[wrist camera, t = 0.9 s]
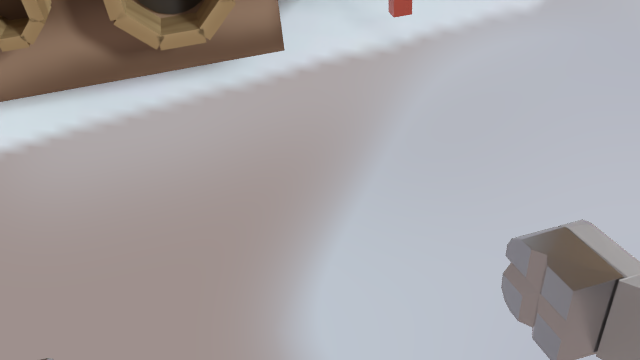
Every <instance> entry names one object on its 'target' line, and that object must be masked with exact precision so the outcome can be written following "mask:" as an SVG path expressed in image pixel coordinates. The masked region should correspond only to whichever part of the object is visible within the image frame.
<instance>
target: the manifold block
mask: <svg viewBox="0 0 640 360" xmlns="http://www.w3.org/2000/svg"><path fill="white" fill-rule="evenodd" d="M283 50H284V43H283V36H282V28H281V21H280V13H279V6H278V0H0V102H2V101H8V100H13V99H19V98H24V97H30V96H35V95H41V94H46V93H52V92H57V91H63V90H68V89H74V88H79V87H85V86H90V85H96V84H101V83H107V82H113V81H118V80H124V79H129V78H135V77H140V76H146V75H151V74H157V73H162V72H168V71H173V70H179V69H184V68H190V67H195V66H201V65H206V64H212V63H217V62H223V61H228V60H234V59H239V58H245V57H250V56H256V55H261V54H267V53H272V52H278V51H283Z"/></svg>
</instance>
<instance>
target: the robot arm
mask: <svg viewBox="0 0 640 360" xmlns="http://www.w3.org/2000/svg"><path fill="white" fill-rule="evenodd" d="M506 257H507V258H508V259H509V260H510V261H511V264H510V265H509V266H508V268H507V269H506V270H505V271H504V273H503V277H502V291H503V295H504V299H505V302H506V304H507V306H508V308H509V310H510V311H511V313H512V314H513V315H514V316H515V318H516V319H517V320H518V321H520V322H522V323H524V324H526V325H528V326H531V327H532V331H533V332H532V338H533V340H534V341H535V342H536V343H537V344H538V346H539V347H540V348H541V349H542V350H543V352H544V353H545V354H546V355H547V356H548V358H550V360H576V359H579V358H583V357H586V356H589V355H593V354H596V356H597V357H598V358H600V359H602V360H640V262H639V261H638V260H637V259H636V258H634V257H633V256H632V255H631V254H629V253H628V252H627V251H626V250H624V249H623V248H622V247H621V246H619V245H618V244H617V243H616V242H614V241H613V240H612V239H611V238H609V237H608V236H607V235H606V234H604V233H603V232H602V231H601V230H599V229H598V228H597V227H596V226H594V225H593V224H592V223H590V222H588V221H585V220H579V221H575V222H571V223H568V224H564V225H560V226H558V227H553V228H550V229H546V230H542V231H538V232H535V233H531V234H527V235H523V236H520V237H516V238H512V239H511V241H510V242H509V243H508V245H507V250H506ZM42 360H53V359H50V358H46V359H42Z"/></svg>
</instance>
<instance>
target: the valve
mask: <svg viewBox="0 0 640 360" xmlns="http://www.w3.org/2000/svg"><path fill="white" fill-rule="evenodd" d="M389 12H390V14H391V15H392V16H393V17H399V16H404V15H410V14H412V0H389Z"/></svg>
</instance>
